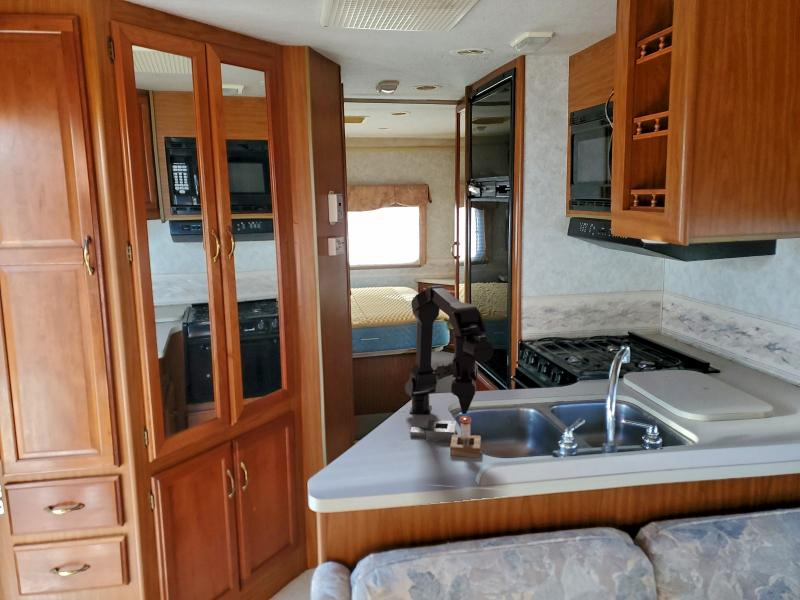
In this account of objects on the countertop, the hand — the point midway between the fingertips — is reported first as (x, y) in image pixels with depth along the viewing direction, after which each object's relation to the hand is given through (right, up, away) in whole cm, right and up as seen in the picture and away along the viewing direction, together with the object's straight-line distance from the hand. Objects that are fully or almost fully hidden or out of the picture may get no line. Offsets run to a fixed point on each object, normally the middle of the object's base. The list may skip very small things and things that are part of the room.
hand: (465, 407), depth 166 cm
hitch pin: (0, -12, +2) cm, 12 cm away
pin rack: (0, -12, +2) cm, 12 cm away
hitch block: (-8, -10, +12) cm, 18 cm away
